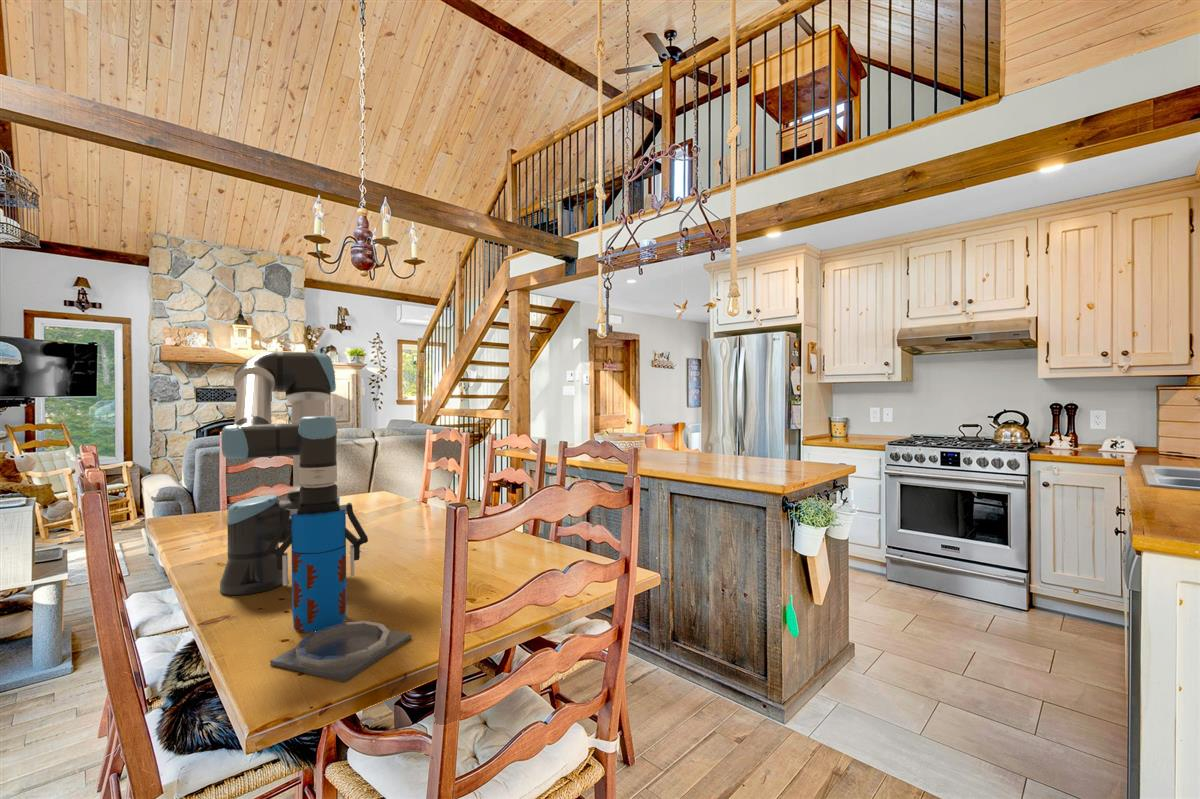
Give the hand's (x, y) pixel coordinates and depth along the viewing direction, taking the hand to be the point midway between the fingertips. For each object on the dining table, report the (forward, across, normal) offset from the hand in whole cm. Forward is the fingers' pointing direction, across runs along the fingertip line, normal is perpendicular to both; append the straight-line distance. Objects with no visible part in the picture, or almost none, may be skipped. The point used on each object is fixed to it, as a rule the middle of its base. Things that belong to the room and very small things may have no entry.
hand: (319, 579), depth 122 cm
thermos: (+10, 0, 0) cm, 10 cm away
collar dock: (+10, +5, -18) cm, 21 cm away
